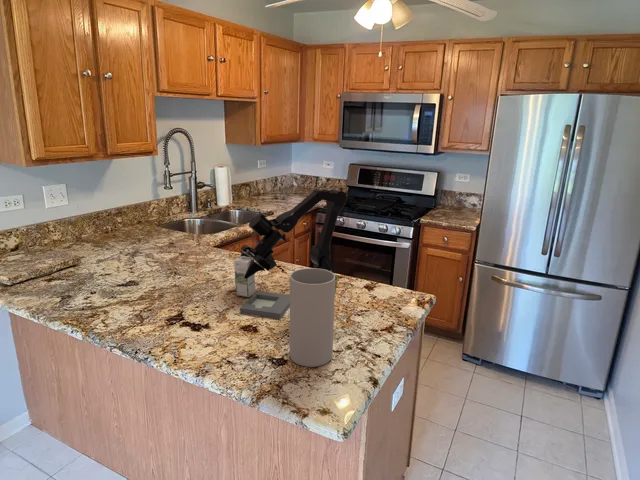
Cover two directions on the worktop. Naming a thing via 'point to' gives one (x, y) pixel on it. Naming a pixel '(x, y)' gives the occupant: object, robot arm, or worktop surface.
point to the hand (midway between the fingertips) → (241, 274)
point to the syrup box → (243, 285)
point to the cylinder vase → (311, 316)
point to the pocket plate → (266, 305)
